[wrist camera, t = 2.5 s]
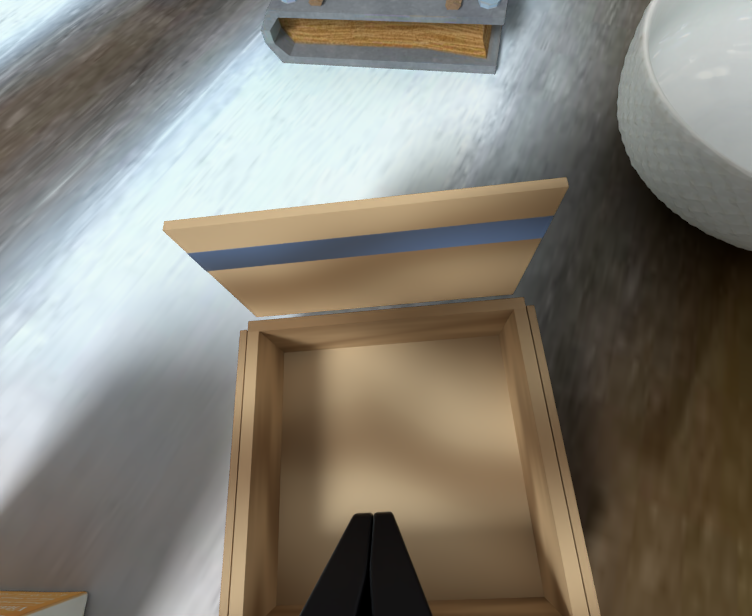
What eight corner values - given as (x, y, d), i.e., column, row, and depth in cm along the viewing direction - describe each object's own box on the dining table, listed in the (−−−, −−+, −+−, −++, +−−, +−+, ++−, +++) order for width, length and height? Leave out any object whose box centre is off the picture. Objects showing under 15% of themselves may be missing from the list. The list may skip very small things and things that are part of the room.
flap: (568, 187, 10) (566, 176, 11) (162, 231, 11) (164, 220, 11) (513, 294, 17) (511, 287, 17) (256, 317, 18) (257, 310, 18)
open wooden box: (567, 618, 16) (610, 662, 13) (259, 627, 17) (214, 670, 14) (512, 326, 21) (531, 296, 17) (271, 346, 22) (240, 322, 18)
